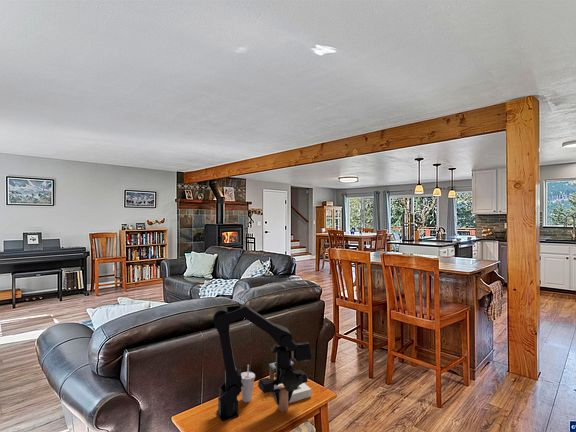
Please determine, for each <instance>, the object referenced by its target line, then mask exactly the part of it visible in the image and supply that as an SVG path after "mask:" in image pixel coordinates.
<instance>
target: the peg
mask: <svg viewBox="0 0 576 432" xmlns="http://www.w3.org/2000/svg"><path fill="white" fill-rule="evenodd" d="M278 389H279V390H280V392H279V405H277V410H278V411H280V412H287V411H288V410H289V403H288V391H286V389H285V387H284V385H280V386H278Z"/></svg>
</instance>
